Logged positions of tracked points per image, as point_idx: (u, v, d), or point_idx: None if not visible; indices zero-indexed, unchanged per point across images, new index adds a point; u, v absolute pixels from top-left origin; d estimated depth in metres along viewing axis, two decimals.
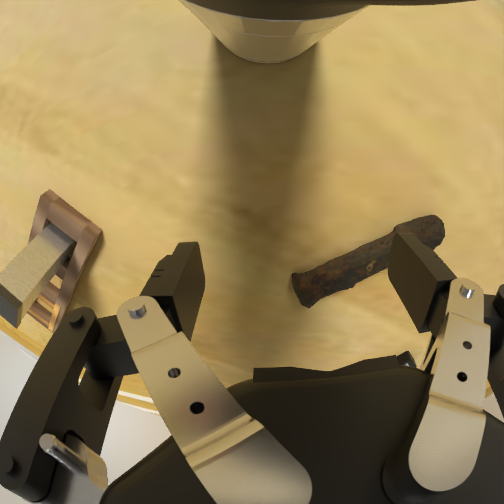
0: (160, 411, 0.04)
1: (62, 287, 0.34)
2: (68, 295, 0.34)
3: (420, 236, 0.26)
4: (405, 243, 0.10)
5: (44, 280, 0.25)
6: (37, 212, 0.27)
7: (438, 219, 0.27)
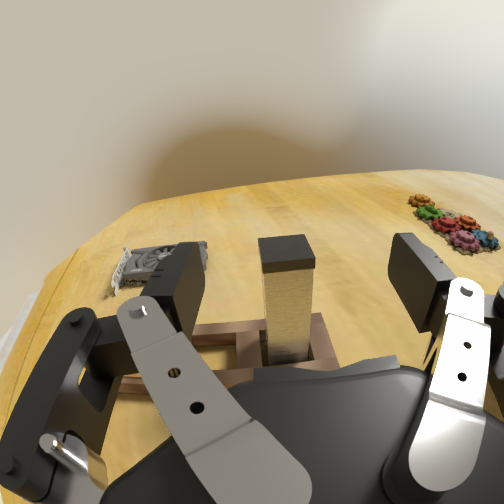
0: (160, 411, 0.04)
1: (221, 372, 0.27)
2: None
3: None
4: (405, 243, 0.10)
5: (291, 318, 0.25)
6: None
7: None
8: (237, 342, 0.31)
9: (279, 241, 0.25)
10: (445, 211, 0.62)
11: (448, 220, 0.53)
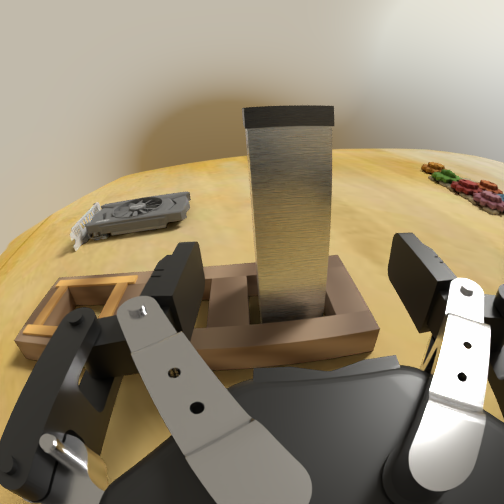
0: (160, 411, 0.04)
1: None
2: None
3: None
4: (405, 243, 0.10)
5: (297, 227, 0.15)
6: None
7: None
8: (212, 291, 0.20)
9: None
10: (462, 179, 0.52)
11: (469, 182, 0.43)
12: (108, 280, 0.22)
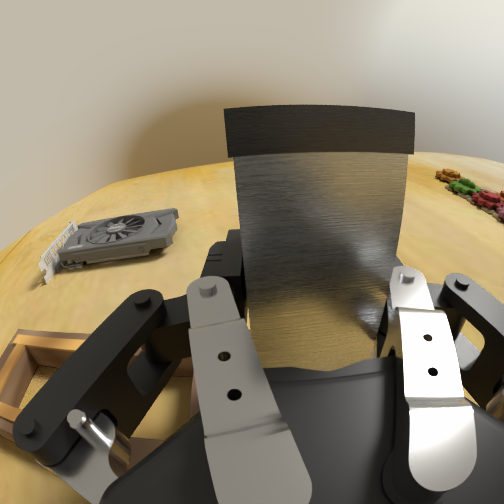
0: (198, 389, 0.04)
1: (153, 444, 0.10)
2: None
3: None
4: None
5: (326, 333, 0.08)
6: None
7: None
8: None
9: None
10: (480, 188, 0.45)
11: (491, 194, 0.36)
12: (67, 344, 0.15)
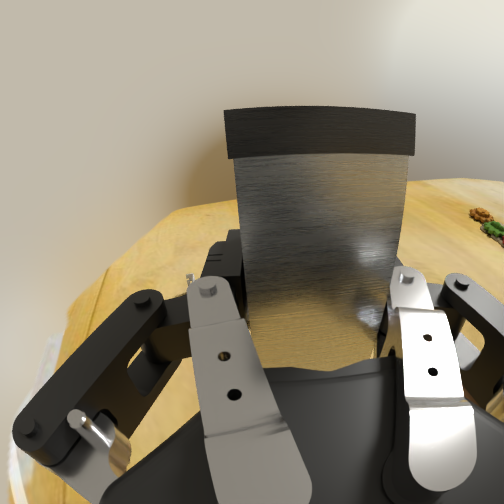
0: (198, 389, 0.04)
1: None
2: None
3: None
4: None
5: (326, 334, 0.08)
6: None
7: None
8: None
9: None
10: None
11: None
12: None
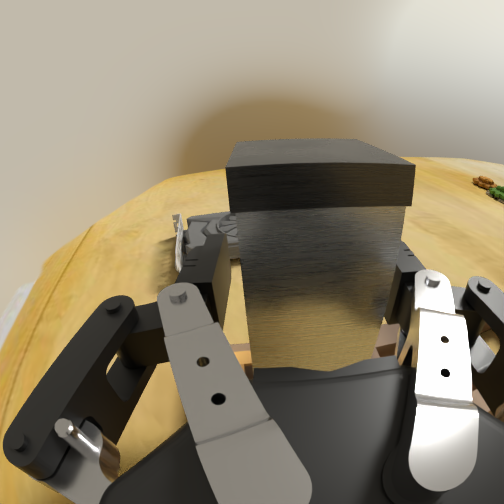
0: (181, 397, 0.04)
1: None
2: None
3: None
4: None
5: (320, 361, 0.09)
6: None
7: None
8: None
9: (293, 142, 0.08)
10: None
11: None
12: None
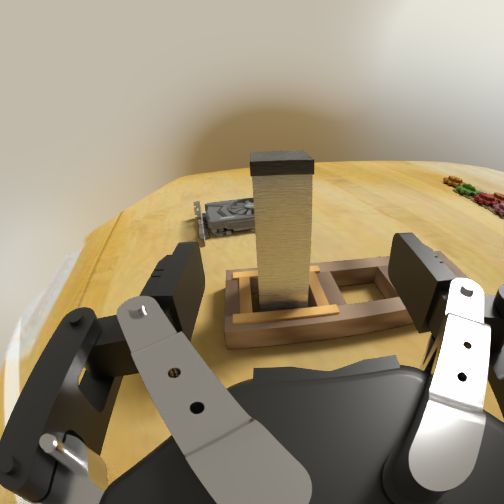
0: (160, 411, 0.04)
1: (387, 300, 0.23)
2: (385, 311, 0.22)
3: None
4: (405, 243, 0.10)
5: (286, 244, 0.21)
6: None
7: None
8: (384, 274, 0.27)
9: (273, 153, 0.21)
10: (477, 190, 0.60)
11: (488, 195, 0.50)
12: None
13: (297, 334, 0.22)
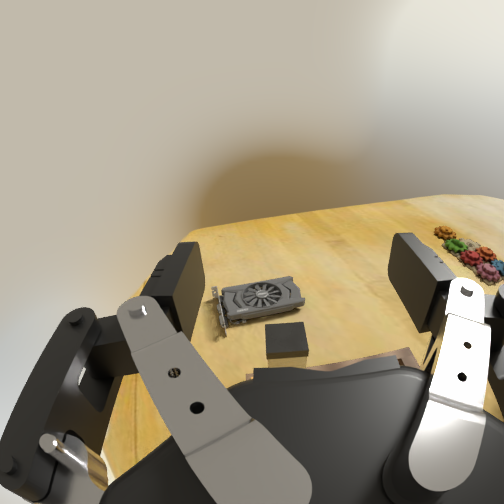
0: (160, 411, 0.04)
1: None
2: None
3: None
4: (405, 243, 0.10)
5: None
6: (396, 351, 0.38)
7: None
8: None
9: (282, 329, 0.30)
10: (466, 241, 0.69)
11: (473, 254, 0.59)
12: None
13: None
